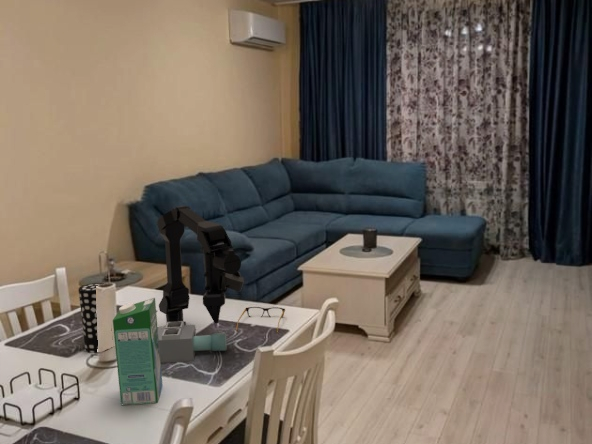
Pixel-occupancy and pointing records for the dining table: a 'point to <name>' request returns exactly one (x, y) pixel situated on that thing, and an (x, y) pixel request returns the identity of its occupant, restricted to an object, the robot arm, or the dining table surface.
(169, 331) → the plunger
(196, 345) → the cartridge
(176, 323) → the plunger
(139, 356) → the milk carton
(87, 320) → the spotted tube
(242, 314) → the eyeglasses
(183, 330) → the housing
